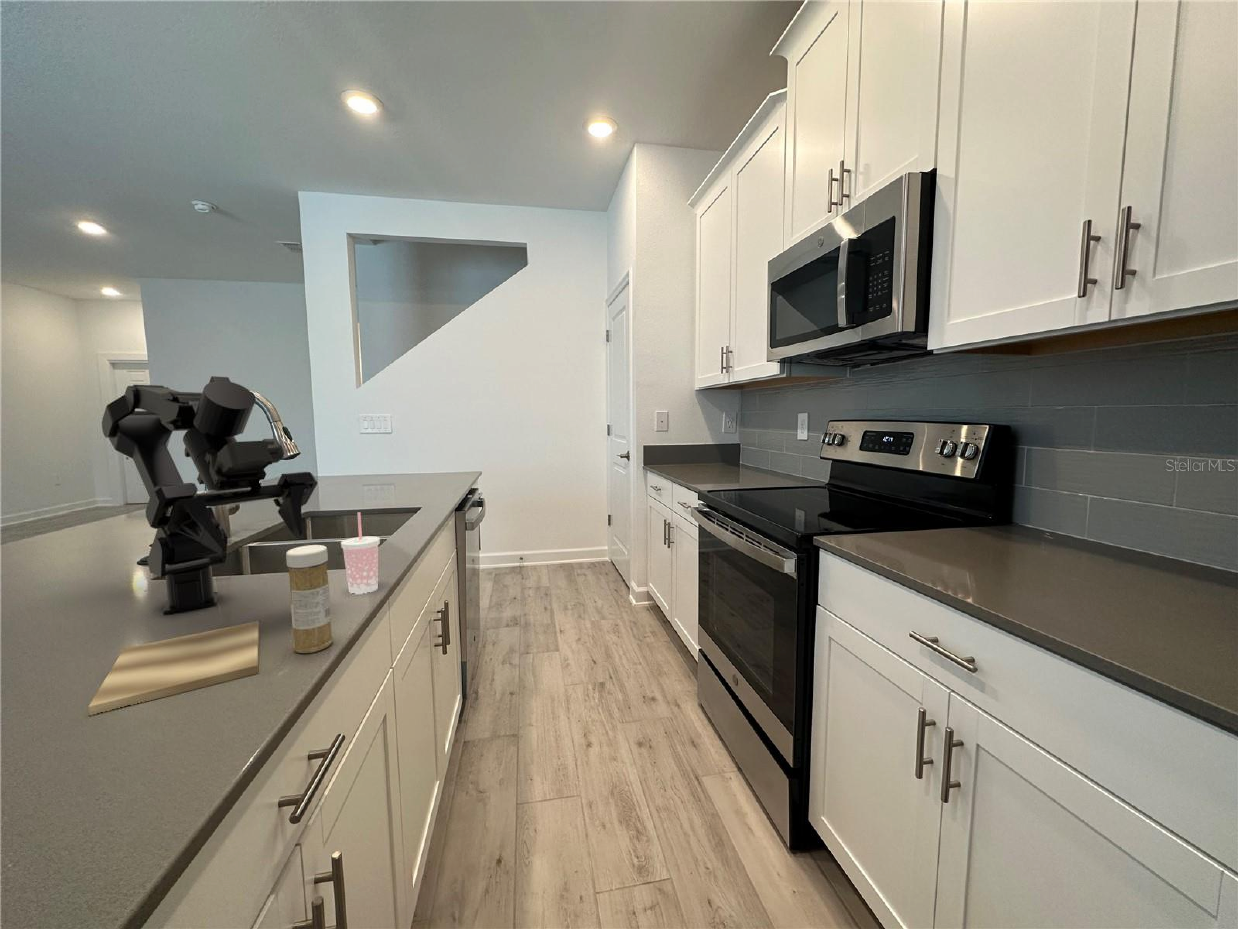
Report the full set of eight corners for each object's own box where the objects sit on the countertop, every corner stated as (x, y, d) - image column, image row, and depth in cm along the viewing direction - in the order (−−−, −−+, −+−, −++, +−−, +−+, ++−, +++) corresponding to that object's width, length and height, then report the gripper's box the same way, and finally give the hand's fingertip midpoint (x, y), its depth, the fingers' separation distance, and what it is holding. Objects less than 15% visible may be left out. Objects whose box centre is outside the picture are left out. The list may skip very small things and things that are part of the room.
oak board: (125, 655, 63) (124, 648, 63) (258, 627, 71) (258, 621, 71) (89, 715, 50) (88, 706, 50) (257, 673, 58) (257, 665, 58)
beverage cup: (386, 590, 86) (381, 512, 85) (346, 598, 83) (341, 517, 81) (378, 581, 91) (374, 507, 90) (341, 588, 88) (336, 511, 86)
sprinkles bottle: (307, 639, 68) (301, 544, 66) (340, 639, 67) (334, 543, 66) (285, 655, 63) (277, 553, 62) (320, 655, 63) (313, 553, 62)
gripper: (145, 420, 59) (193, 520, 55) (306, 419, 75) (353, 496, 71) (127, 480, 64) (170, 576, 59) (283, 467, 80) (325, 542, 76)
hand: (264, 544), depth 66 cm, fingers open, 9 cm apart
